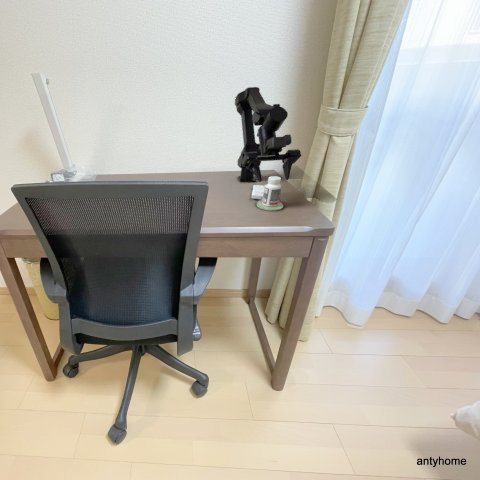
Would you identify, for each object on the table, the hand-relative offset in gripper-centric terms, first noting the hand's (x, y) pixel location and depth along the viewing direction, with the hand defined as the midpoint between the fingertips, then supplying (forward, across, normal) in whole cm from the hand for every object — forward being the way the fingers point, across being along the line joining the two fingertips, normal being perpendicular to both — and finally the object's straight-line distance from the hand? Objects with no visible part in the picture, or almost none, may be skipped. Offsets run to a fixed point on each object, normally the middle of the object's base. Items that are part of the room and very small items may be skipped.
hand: (274, 180), depth 88 cm
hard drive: (0, +1, +13) cm, 13 cm away
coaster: (+7, 0, +6) cm, 9 cm away
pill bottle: (+6, 0, +6) cm, 9 cm away
